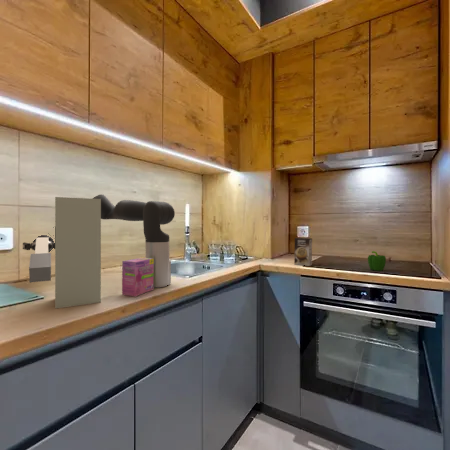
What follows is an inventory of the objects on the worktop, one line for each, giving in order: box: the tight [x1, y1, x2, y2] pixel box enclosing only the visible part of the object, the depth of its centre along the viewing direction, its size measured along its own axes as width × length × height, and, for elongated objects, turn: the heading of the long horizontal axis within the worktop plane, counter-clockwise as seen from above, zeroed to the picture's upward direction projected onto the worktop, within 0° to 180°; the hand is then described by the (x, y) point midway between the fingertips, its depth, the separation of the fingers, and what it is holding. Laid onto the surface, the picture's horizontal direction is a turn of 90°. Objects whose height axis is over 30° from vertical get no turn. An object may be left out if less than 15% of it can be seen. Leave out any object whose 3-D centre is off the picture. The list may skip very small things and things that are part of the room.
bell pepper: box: [367, 250, 387, 272], centre depth 147 cm, size 8×8×10 cm
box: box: [121, 257, 154, 297], centre depth 98 cm, size 10×6×12 cm, turn 158°
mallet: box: [28, 237, 52, 283], centre depth 101 cm, size 22×6×6 cm
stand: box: [54, 196, 102, 309], centre depth 88 cm, size 12×12×32 cm
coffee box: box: [293, 237, 313, 267], centre depth 167 cm, size 9×6×16 cm
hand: (41, 247), depth 104 cm, fingers closed on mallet, 4 cm apart
